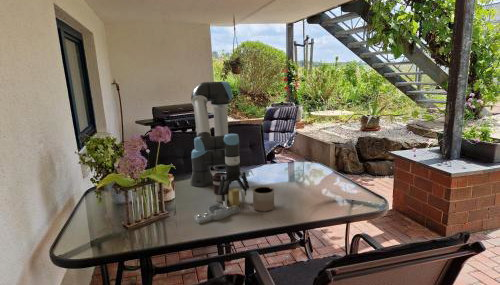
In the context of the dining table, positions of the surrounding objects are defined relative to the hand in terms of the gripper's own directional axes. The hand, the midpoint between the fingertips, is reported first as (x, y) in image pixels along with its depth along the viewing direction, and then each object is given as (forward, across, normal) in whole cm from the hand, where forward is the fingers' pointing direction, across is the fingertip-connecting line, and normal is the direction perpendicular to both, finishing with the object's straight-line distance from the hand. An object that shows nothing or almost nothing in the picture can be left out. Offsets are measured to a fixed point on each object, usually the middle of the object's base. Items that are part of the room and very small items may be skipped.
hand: (234, 204), depth 168 cm
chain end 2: (0, -9, -8) cm, 12 cm away
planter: (0, +10, -13) cm, 16 cm away
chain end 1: (0, -20, -8) cm, 21 cm away
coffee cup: (0, -2, +10) cm, 10 cm away
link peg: (0, 0, 0) cm, 0 cm away
